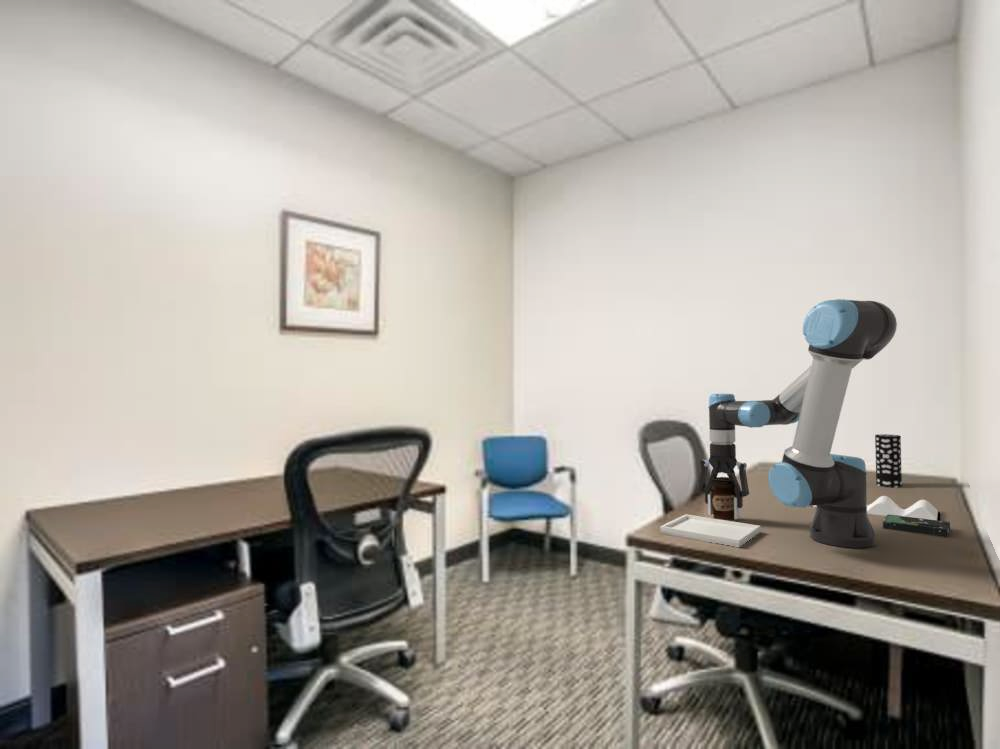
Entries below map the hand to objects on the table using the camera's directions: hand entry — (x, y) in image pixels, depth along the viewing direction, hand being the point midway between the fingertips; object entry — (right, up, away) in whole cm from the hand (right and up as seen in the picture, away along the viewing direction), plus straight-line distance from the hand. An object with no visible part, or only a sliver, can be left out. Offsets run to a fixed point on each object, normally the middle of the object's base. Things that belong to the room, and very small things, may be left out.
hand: (723, 516), depth 172 cm
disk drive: (+50, -1, -14) cm, 52 cm away
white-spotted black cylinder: (+85, 0, +47) cm, 97 cm away
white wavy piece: (+53, -1, +9) cm, 54 cm away
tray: (-10, -1, -14) cm, 17 cm away
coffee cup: (0, -1, 0) cm, 1 cm away
